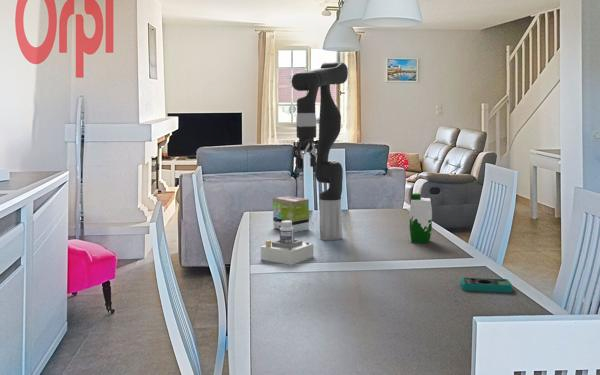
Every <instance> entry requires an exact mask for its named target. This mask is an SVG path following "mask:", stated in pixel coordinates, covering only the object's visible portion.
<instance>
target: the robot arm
mask: <svg viewBox="0 0 600 375" xmlns="http://www.w3.org/2000/svg"><path fill="white" fill-rule="evenodd" d="M348 70H349V69H348V66H347V64H345V63H344V62H342V61H332V62H331V61H330V62H329V61H328V62H323V63H322V64H321V66H320V68H316V69H311V70H308V71H297V72H296V73H294V74H293V76H292V78H291V86H292V88H293V89H294V90H296V91H298V92H306V91H307V94H306V95H305V96H302V97H301V96H300V97H299V98H297V100H296V121H295V123H296V138H297V139H298V141H297V140H295V141H293V145H292V146H293V148H292V149H293V150H292V152H293V153H292V156H293V158H295V159H296V164H297V165H296V167H297V170H298V169H299V170H301V169H302V170H303V169H304V156H305V155H306V154H307V153H308V155H309V164H310V165H309V166H310V167H311V168H315V171H314V173H315V174H314V175H315V180H316V181H317V182H318V183H320V184H321V183H322V184H329V188H328V189H326V190H323V191H321V192H319V239H320V240H324V241H337V240H338V241H339V240H341V239H342V237H343V224H342V223H343V219H342V218H343V216H342V192H343V177H344V176H343V174H344V170H343V166H342V164H341V163H340V162H339V161H329V155H330V151H331V148H332V147H333V145H334V144H335V142H336V141H337V139H338V138H339V135H340V133H341V127H342V126H341V124H342V116H341V112H340V110H339V108H338V106H337V105H336V102H335V101H334V99H333V97H332V94H331V85H342V84H344V83H346V81H347V79H348V74H349V71H348ZM319 88H320V90H319ZM318 91H320V103H319V104H320V106H319V117H318V118H319V119H318V139H316V138H317V116H316V115H317V114H316V100H317V96H318V93H319V92H318Z"/></svg>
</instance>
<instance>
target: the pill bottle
mask: <svg viewBox="0 0 600 375" xmlns="http://www.w3.org/2000/svg"><path fill="white" fill-rule="evenodd" d="M281 225H282V227H281V228H280V229H279V240H280V243H286V244H290V243H294V239H295V233H294V228H293V227H292V226H291V225H292V221H289V220H286V221H281Z"/></svg>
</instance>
